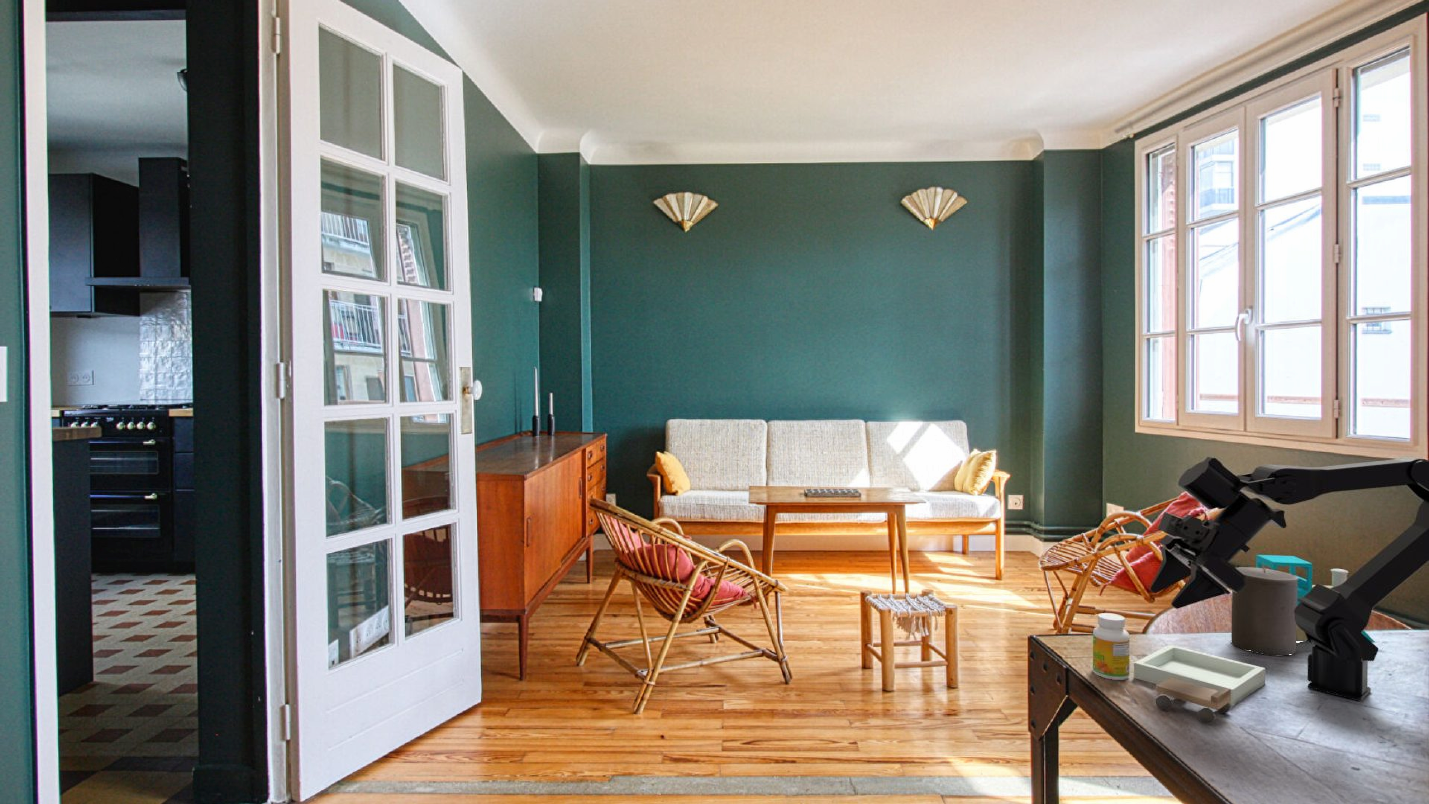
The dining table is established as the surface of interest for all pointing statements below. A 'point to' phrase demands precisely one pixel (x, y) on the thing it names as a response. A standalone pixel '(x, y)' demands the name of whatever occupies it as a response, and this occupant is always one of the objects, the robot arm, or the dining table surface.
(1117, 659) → the supplement bottle
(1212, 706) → the cart
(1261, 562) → the toy train
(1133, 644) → the dining table surface
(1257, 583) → the pillar candle
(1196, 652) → the tray
